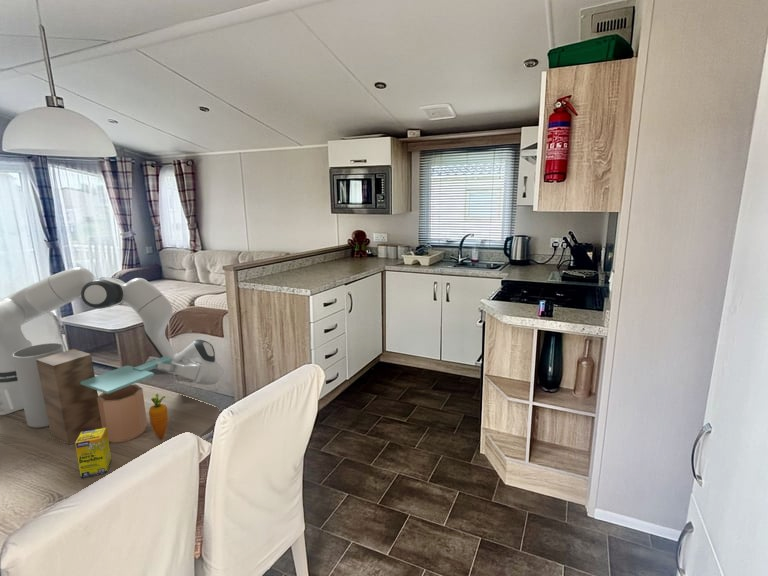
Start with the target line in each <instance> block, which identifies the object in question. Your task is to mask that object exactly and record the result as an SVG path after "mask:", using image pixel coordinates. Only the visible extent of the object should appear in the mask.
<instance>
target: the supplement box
mask: <svg viewBox="0 0 768 576" xmlns="http://www.w3.org/2000/svg"><path fill="white" fill-rule="evenodd" d="M74 445H75V452H76V457H77V462H78V468H79V474H80V479H85V478H90V477H93V476H94V475H95V476H98V475H97V474H99V475H102V474H101V473H105V474H107V473H108V471H109V469H110V466H109V465H111V464H112V463H111V462H112V456H111V449H110V442H109V441H108V435H107V428H106V427H105V428H101V429H96V430H90V431H83V432H81V433H80V435H79V437H78V439H77V440H76V442H74ZM108 468H109V469H108ZM107 470H108V471H107Z"/></svg>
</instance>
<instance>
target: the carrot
mask: <svg viewBox="0 0 768 576" xmlns="http://www.w3.org/2000/svg"><path fill="white" fill-rule="evenodd" d="M165 398H166V395H163V396H161V397H160V399H159V393H156V394H155V396H154V397H152V398H151V401H152V403H153V404H154V405H152V406H151V407H150V408H149V410H148V415H149V420H150V421H149V422H150V425H151V428H152V430H153V433H154V434H155V435H156V437H158V438H159V439H161V440H163V439H164V438H165V435H166V432H167V427H168V419H169V418H168V416H169V415H168V407H167V405H166V404H164V403H162V400H164V399H165Z"/></svg>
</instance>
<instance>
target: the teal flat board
mask: <svg viewBox="0 0 768 576" xmlns="http://www.w3.org/2000/svg"><path fill="white" fill-rule="evenodd" d="M158 358H159V359H156V360H153V361H151V362H148V363H146V362H145V363H143V364H140V365H137V366H135V367H134V366H131V365H128V364H127V365H123V366H120V367H119V368H115V369H112V370H109V371H107V372H104V373H102V374H99V375H95V377H93V378H90V379H87V380H84V381H81V382H80V383H81V385H84V386H87V387H90V388H92V389H95V390H97V392H100V393H106V394H109V393H112V392H114V391H117V390H119V389H122V388H124V387H127V386H129V385H134V384H136V383H139V382H142V381H144V380H147V379H149V378H151V377H153V376H155V373H154V372H152V371H151V370H153V369H154V370H155V368H156V364H157V363H158V362H159V363H164V364H167V363H170V362H172V358H169V357H165V356H164V357H158Z"/></svg>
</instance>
